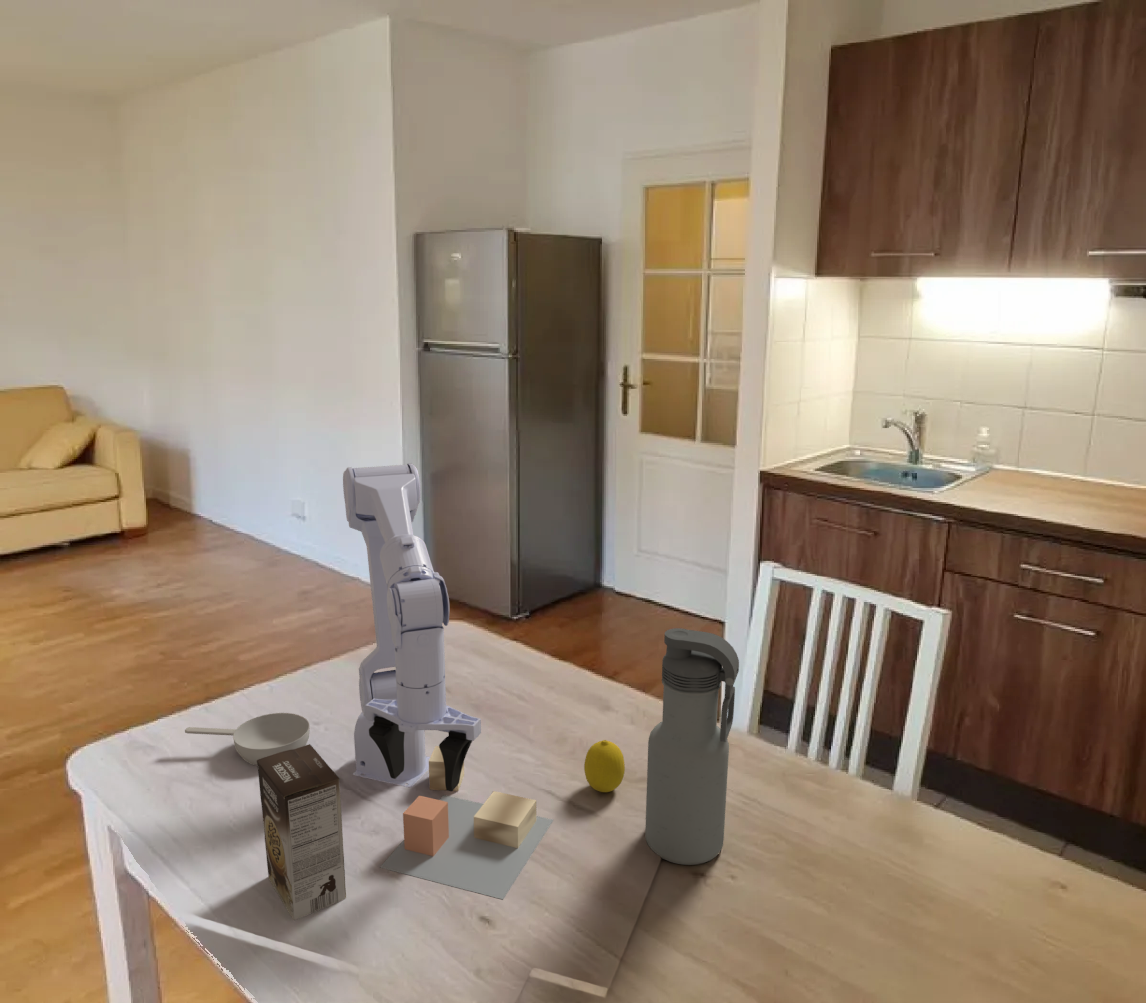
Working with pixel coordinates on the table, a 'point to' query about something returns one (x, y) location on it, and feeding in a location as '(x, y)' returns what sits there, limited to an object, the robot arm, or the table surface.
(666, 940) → the table surface
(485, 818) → the block
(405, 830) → the terracotta block
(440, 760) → the birch block
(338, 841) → the coffee box
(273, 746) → the small pan
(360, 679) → the robot arm
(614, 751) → the lemon
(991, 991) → the table surface
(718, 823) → the water bottle
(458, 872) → the board
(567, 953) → the table surface
